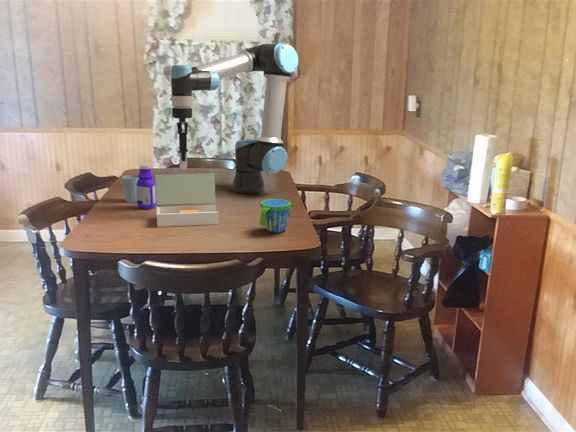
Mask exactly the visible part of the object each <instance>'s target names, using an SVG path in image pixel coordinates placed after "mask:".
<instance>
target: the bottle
mask: <svg viewBox="0 0 576 432" xmlns="http://www.w3.org/2000/svg"><path fill="white" fill-rule="evenodd" d="M137 175H138V177H139V179H138V181H137V202H136V203H137V207H138V208H139V209H143V210H152V209H154V208H155V207H156V206H157V203H156V181H155V179H154V178H153V177H154V175H153V173H152V170H151V164H146V163H145V164H143V163H142V164H140V165H139V173H138V174H137Z"/></svg>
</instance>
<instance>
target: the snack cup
mask: <svg viewBox="0 0 576 432" xmlns="http://www.w3.org/2000/svg"><path fill="white" fill-rule="evenodd" d="M259 206H260V208H261V213H260V219H259V225H260V226H261V227H264V230H266V231H267V232H269V233H275V234H276V233H282V232H284V231H286V230H287V226H288V219H289V217H290V216H291V207H292V203H291V201H289V200H286V199H281V198H271V199H270V198H269V199H264V200H262V201H261V202H260V203H259Z"/></svg>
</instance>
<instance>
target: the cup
mask: <svg viewBox="0 0 576 432" xmlns="http://www.w3.org/2000/svg"><path fill="white" fill-rule="evenodd" d="M138 175H139V174H129V175H122V177H121V182H122V186H123V187H122V188H123V192H124V199H125V202H126V203H137V181H138V179H139V177H138Z"/></svg>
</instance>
